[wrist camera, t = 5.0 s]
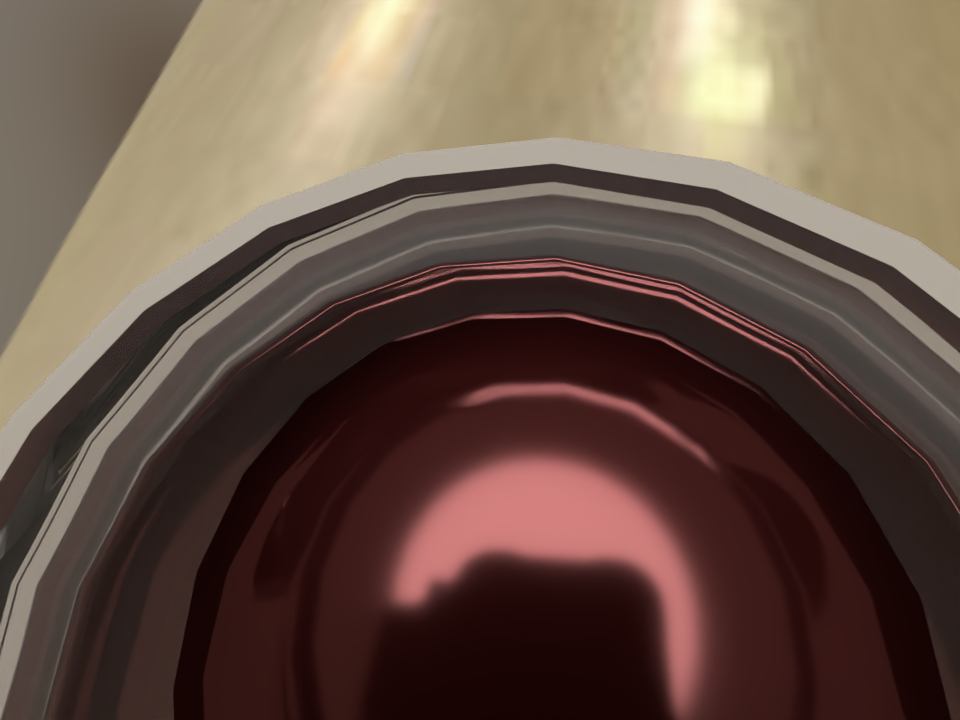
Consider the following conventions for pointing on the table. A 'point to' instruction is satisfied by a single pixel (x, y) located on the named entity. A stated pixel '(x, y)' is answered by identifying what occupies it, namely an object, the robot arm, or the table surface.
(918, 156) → the table surface
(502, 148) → the wineglass
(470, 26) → the table surface
